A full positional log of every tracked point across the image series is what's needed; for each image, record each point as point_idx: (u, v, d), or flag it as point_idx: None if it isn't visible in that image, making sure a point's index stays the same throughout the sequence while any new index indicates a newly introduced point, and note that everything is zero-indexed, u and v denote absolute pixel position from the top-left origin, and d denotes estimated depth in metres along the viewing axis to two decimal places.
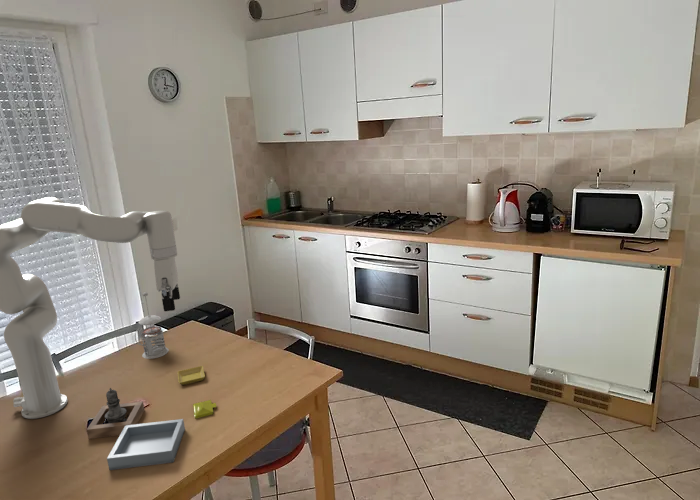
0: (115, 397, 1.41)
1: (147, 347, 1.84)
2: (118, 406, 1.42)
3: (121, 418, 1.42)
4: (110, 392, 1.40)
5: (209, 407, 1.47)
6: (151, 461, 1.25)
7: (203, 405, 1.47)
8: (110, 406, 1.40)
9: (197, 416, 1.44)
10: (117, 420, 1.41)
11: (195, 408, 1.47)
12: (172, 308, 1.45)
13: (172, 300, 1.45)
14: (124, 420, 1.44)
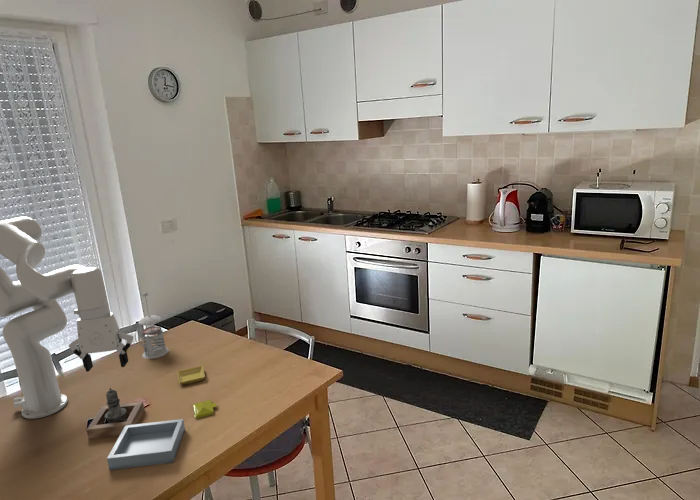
0: (115, 397, 1.41)
1: (147, 347, 1.84)
2: (118, 406, 1.42)
3: (121, 418, 1.42)
4: (110, 392, 1.40)
5: (209, 407, 1.47)
6: (151, 461, 1.25)
7: (204, 405, 1.47)
8: (110, 406, 1.40)
9: (198, 416, 1.44)
10: (117, 420, 1.41)
11: (195, 408, 1.47)
12: None
13: None
14: (124, 420, 1.44)
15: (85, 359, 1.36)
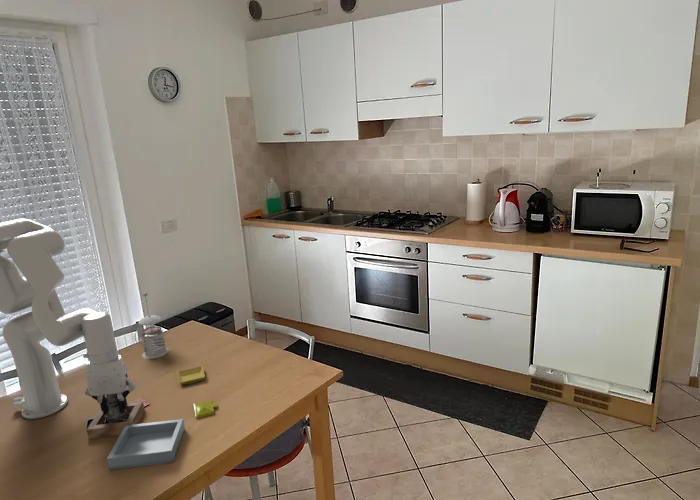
0: (115, 397, 1.41)
1: (147, 347, 1.84)
2: (118, 406, 1.42)
3: (121, 418, 1.42)
4: None
5: (209, 407, 1.47)
6: (151, 461, 1.25)
7: (204, 405, 1.47)
8: (110, 406, 1.40)
9: (198, 416, 1.44)
10: (117, 420, 1.41)
11: (196, 408, 1.47)
12: None
13: None
14: (124, 420, 1.44)
15: (103, 403, 1.40)
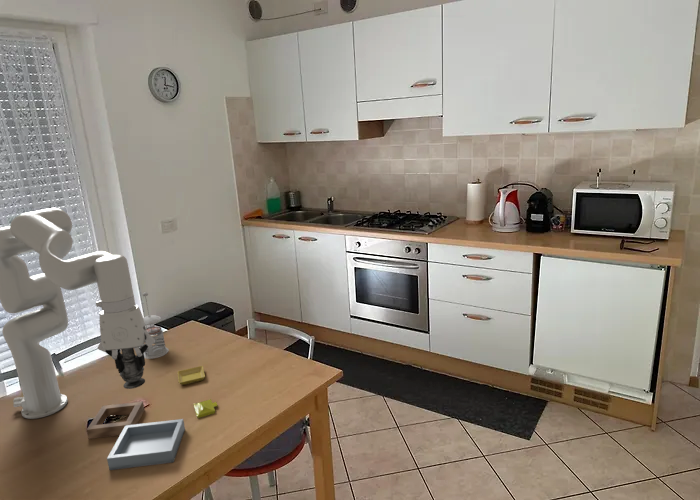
0: (132, 352, 1.24)
1: None
2: (135, 363, 1.25)
3: (139, 376, 1.25)
4: None
5: (210, 406, 1.47)
6: (151, 461, 1.25)
7: (204, 404, 1.47)
8: (126, 362, 1.24)
9: (199, 415, 1.44)
10: (134, 378, 1.24)
11: (196, 408, 1.47)
12: None
13: None
14: (141, 379, 1.28)
15: (118, 359, 1.24)
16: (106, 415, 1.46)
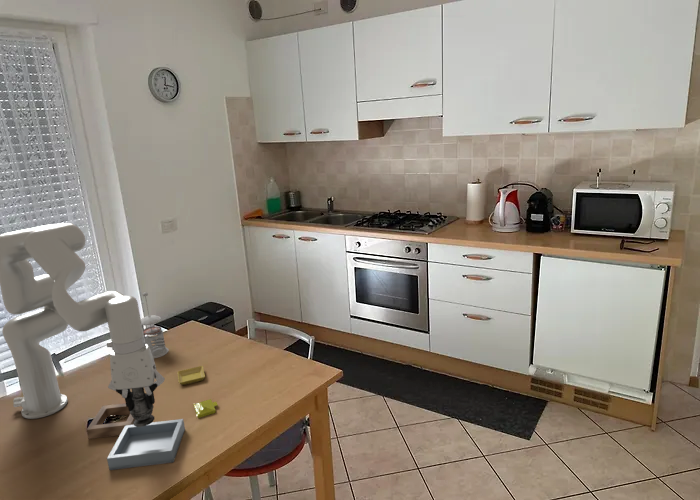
0: (141, 391, 1.26)
1: None
2: (145, 401, 1.27)
3: (148, 414, 1.27)
4: None
5: (210, 406, 1.47)
6: (151, 461, 1.25)
7: (205, 404, 1.47)
8: (136, 401, 1.26)
9: (200, 415, 1.44)
10: (144, 417, 1.26)
11: (197, 408, 1.47)
12: None
13: None
14: (151, 417, 1.30)
15: (128, 398, 1.25)
16: (106, 415, 1.46)
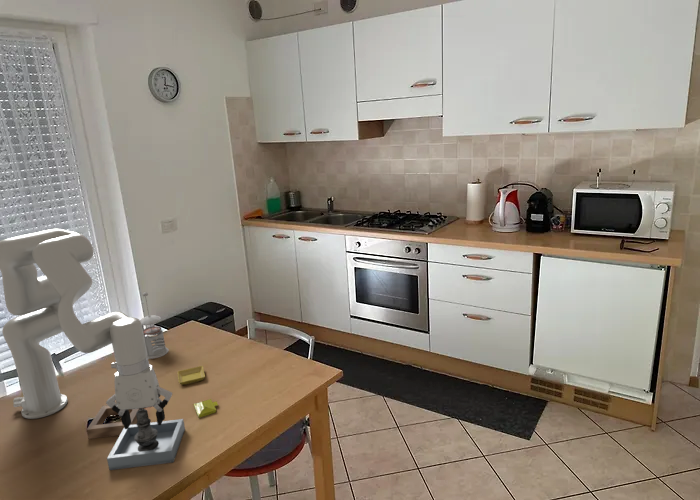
0: (146, 417, 1.28)
1: (147, 347, 1.84)
2: (149, 427, 1.29)
3: (153, 440, 1.29)
4: (141, 412, 1.28)
5: (211, 406, 1.48)
6: (151, 461, 1.25)
7: (205, 404, 1.47)
8: (141, 427, 1.28)
9: (200, 415, 1.44)
10: (148, 442, 1.28)
11: (197, 408, 1.47)
12: None
13: None
14: (155, 442, 1.32)
15: (124, 416, 1.27)
16: (106, 415, 1.46)
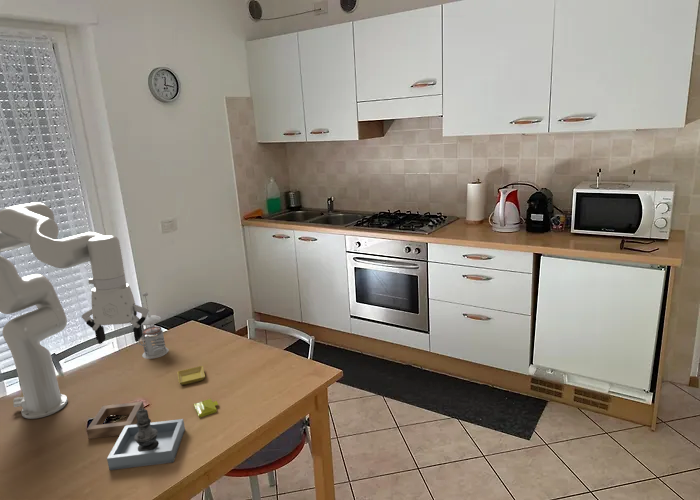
0: (146, 417, 1.28)
1: (147, 347, 1.84)
2: (149, 427, 1.29)
3: (153, 440, 1.29)
4: (141, 412, 1.28)
5: (211, 406, 1.48)
6: (151, 461, 1.25)
7: (205, 404, 1.48)
8: (141, 427, 1.28)
9: (201, 415, 1.44)
10: (148, 442, 1.28)
11: (197, 408, 1.47)
12: None
13: None
14: (155, 442, 1.32)
15: (98, 331, 1.30)
16: (106, 415, 1.46)
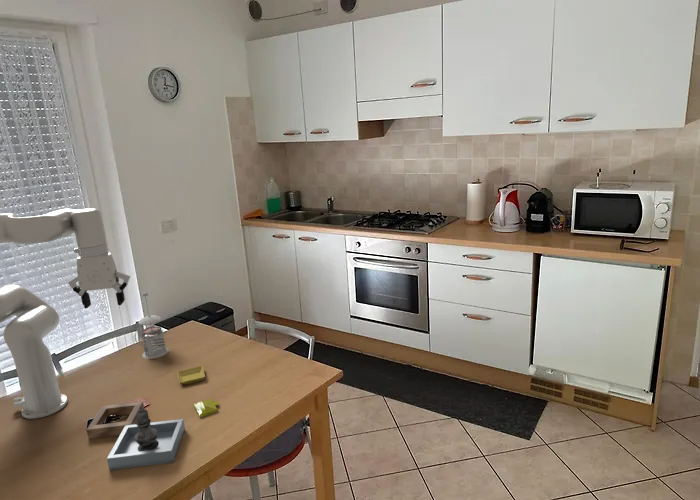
0: (146, 417, 1.28)
1: (147, 347, 1.84)
2: (149, 427, 1.29)
3: (153, 440, 1.29)
4: (141, 412, 1.28)
5: (212, 405, 1.48)
6: (151, 461, 1.25)
7: (206, 404, 1.48)
8: (141, 427, 1.28)
9: (202, 415, 1.44)
10: (148, 442, 1.28)
11: (198, 408, 1.47)
12: (122, 300, 1.47)
13: None
14: (155, 442, 1.32)
15: (84, 296, 1.43)
16: (106, 415, 1.46)
